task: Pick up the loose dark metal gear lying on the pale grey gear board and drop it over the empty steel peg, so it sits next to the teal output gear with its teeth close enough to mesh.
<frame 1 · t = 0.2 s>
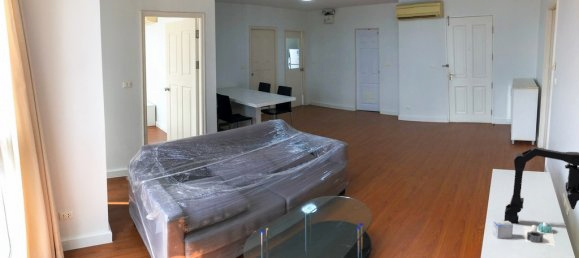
hand: (572, 205, 222), 14 cm above the table, fingers open, 9 cm apart
gear board: (538, 237, 221), on the table
medicine box: (502, 238, 222), on the table
gear: (534, 239, 216), point 1 cm above the table, touching gear board
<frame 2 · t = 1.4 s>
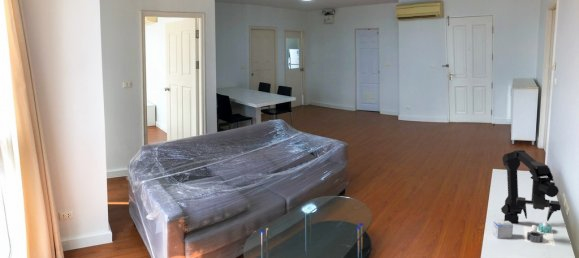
hand: (536, 219, 214), 12 cm above the table, fingers open, 9 cm apart
nothing on the table moved.
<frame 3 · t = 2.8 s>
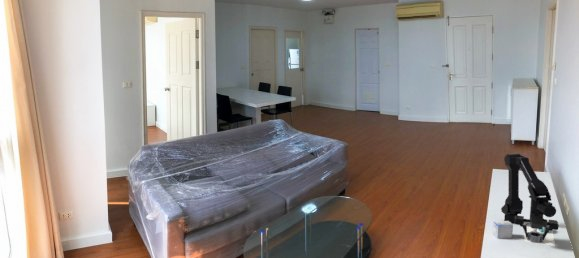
hand: (534, 238, 216), 2 cm above the table, fingers closed on gear, 7 cm apart
gear: (534, 239, 216), point 1 cm above the table, touching gear board, gripper
everything else where it was.
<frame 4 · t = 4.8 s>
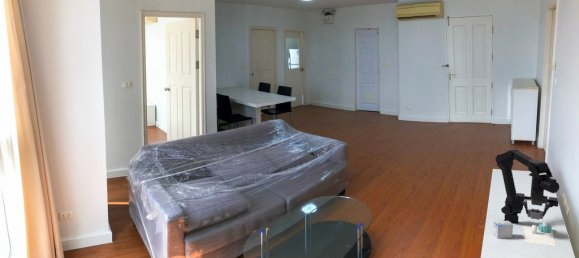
hand: (535, 215, 220), 12 cm above the table, fingers closed on gear, 7 cm apart
gear: (535, 216, 220), point 11 cm above the table, touching gripper
everything else where it was.
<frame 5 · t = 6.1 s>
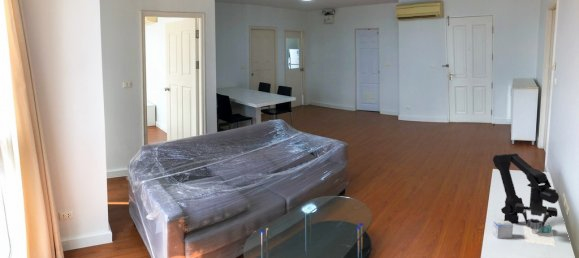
hand: (534, 225, 222), 6 cm above the table, fingers closed on gear, 7 cm apart
gear: (534, 226, 222), point 5 cm above the table, touching gripper
everything else where it was.
when the fingers open (3 cm above the table, at t = 7.1 s): gear drops 1 cm, resting on gear board.
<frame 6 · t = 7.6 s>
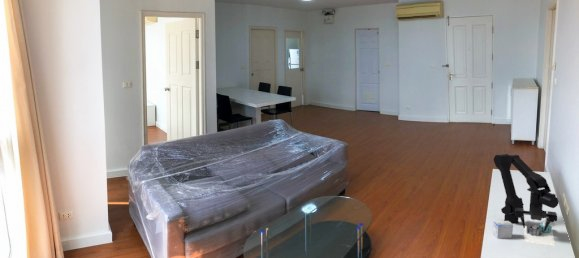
hand: (534, 229, 223), 3 cm above the table, fingers open, 9 cm apart
gear: (534, 233, 223), point 1 cm above the table, touching gear board
everything else where it was.
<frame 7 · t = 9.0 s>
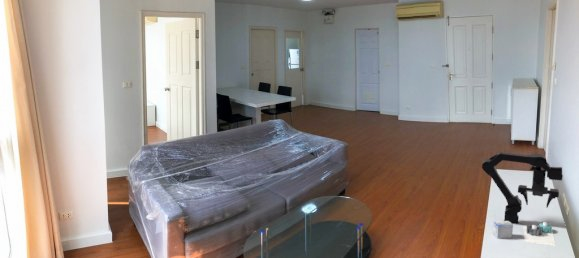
hand: (536, 206, 230), 12 cm above the table, fingers open, 9 cm apart
nothing on the table moved.
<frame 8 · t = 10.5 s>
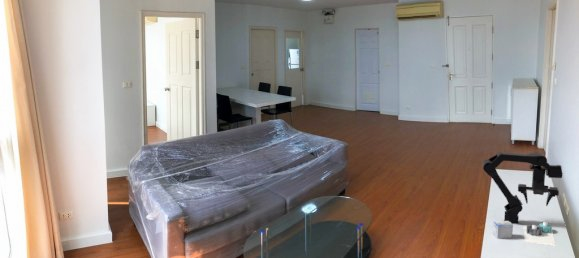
hand: (536, 204, 232), 12 cm above the table, fingers open, 9 cm apart
nothing on the table moved.
at the end: gear 0.0 cm from the target spot on the gear board, point 1.2 cm above the gear board's base; gear tilted 0°; the gripper is holding nothing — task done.
